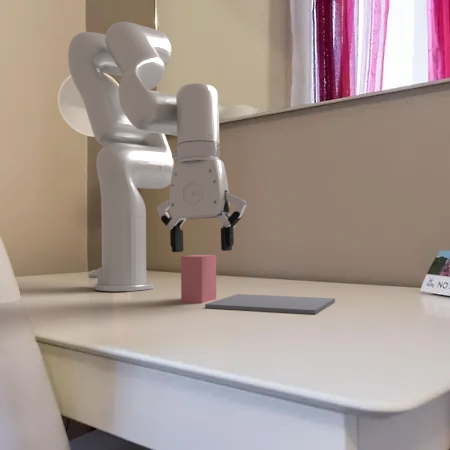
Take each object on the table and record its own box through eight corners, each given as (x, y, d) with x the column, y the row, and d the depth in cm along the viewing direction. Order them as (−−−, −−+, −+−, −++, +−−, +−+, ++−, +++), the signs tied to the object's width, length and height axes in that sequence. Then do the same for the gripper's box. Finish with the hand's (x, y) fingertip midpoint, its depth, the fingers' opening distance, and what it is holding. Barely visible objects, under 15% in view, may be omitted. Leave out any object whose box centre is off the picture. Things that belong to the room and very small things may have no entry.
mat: (205, 307, 85) (205, 304, 85) (237, 297, 98) (237, 294, 98) (315, 314, 78) (315, 310, 78) (335, 301, 91) (334, 298, 91)
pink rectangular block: (181, 302, 92) (181, 256, 92) (196, 297, 98) (196, 254, 98) (201, 303, 91) (201, 256, 91) (216, 298, 96) (216, 255, 96)
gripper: (146, 157, 94) (148, 252, 94) (235, 147, 87) (239, 250, 87) (167, 162, 101) (169, 251, 101) (251, 153, 94) (254, 249, 94)
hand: (201, 251), depth 94 cm, fingers open, 9 cm apart
